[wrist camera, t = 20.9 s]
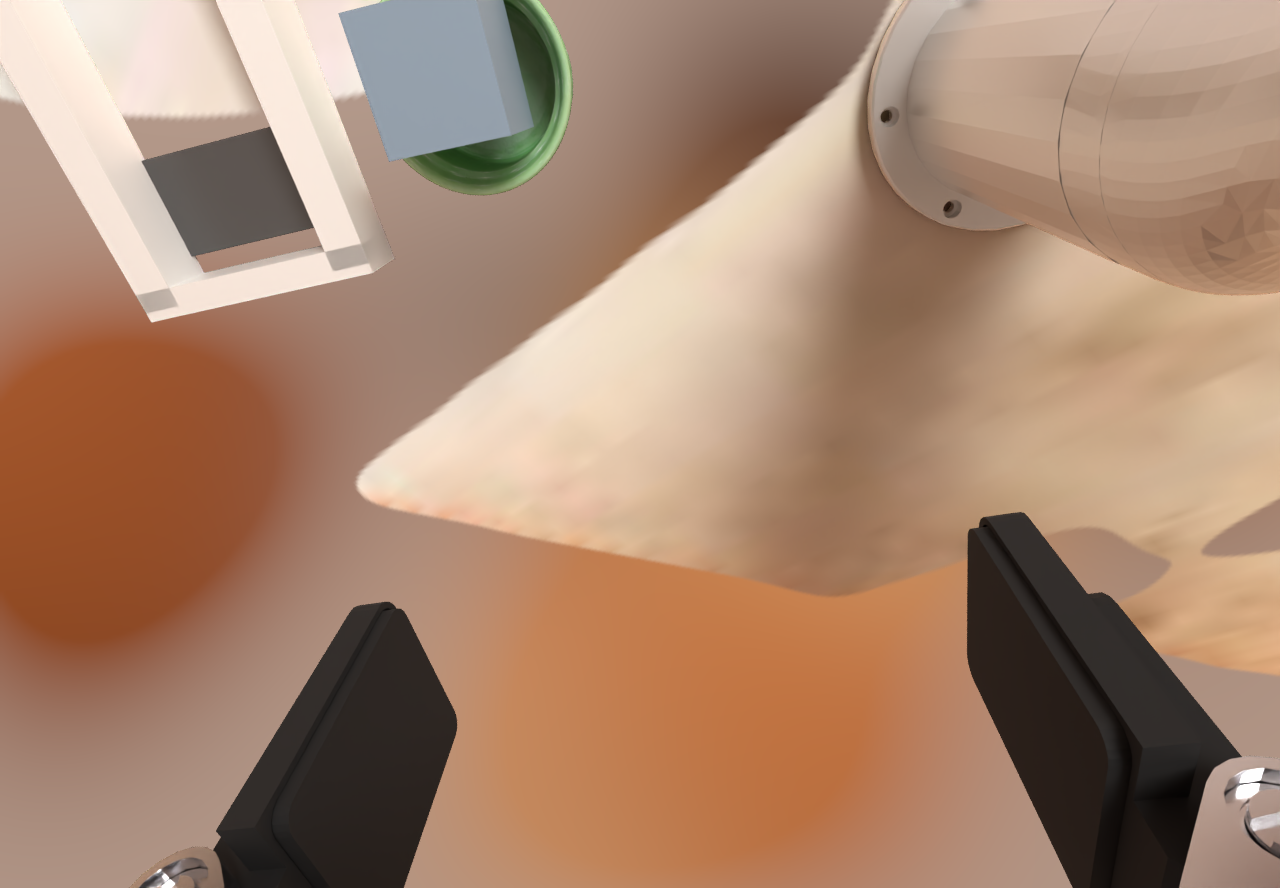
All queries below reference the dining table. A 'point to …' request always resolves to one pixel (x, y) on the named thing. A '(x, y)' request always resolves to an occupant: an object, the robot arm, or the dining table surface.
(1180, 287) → the robot arm
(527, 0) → the ramekin
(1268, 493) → the dining table surface
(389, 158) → the block
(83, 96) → the channel
